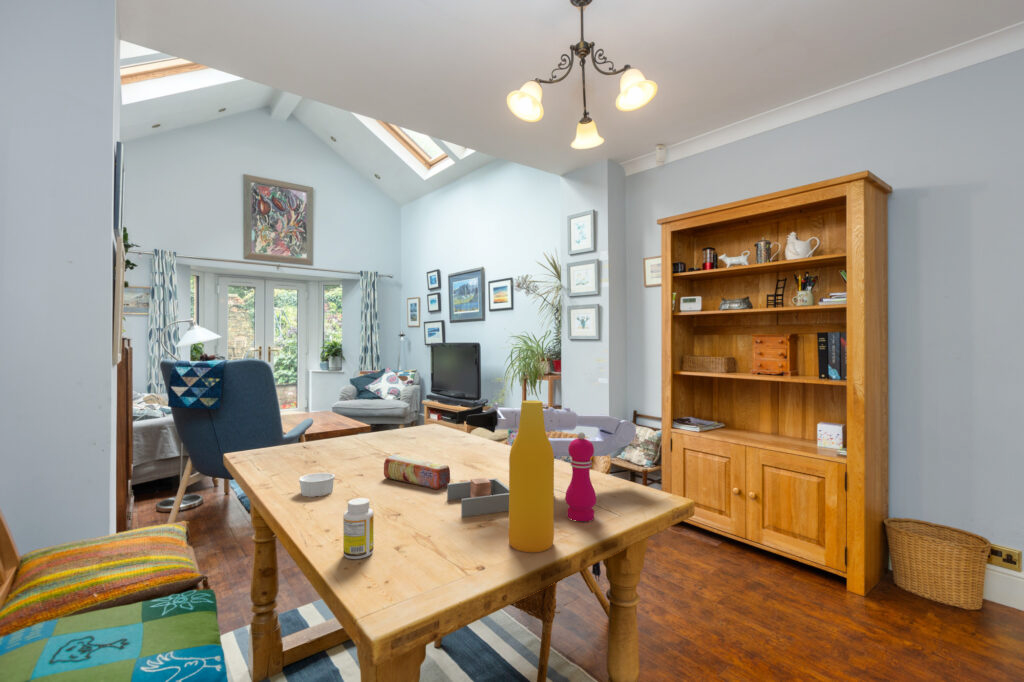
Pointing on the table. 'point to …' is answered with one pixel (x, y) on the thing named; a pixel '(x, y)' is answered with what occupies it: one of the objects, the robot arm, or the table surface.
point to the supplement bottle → (358, 529)
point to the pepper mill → (580, 481)
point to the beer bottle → (531, 483)
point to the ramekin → (316, 484)
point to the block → (480, 487)
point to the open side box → (480, 498)
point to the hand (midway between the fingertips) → (462, 417)
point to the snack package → (417, 471)
